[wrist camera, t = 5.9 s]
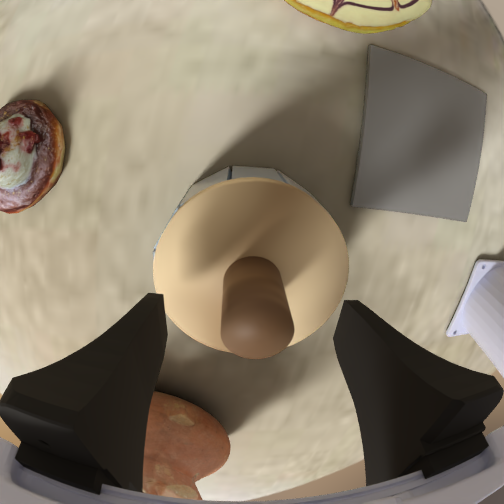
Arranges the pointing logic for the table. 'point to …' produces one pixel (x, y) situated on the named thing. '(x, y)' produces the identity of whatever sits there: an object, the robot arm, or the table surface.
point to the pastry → (28, 154)
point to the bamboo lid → (251, 266)
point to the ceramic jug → (181, 447)
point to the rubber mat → (418, 139)
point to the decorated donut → (363, 13)
